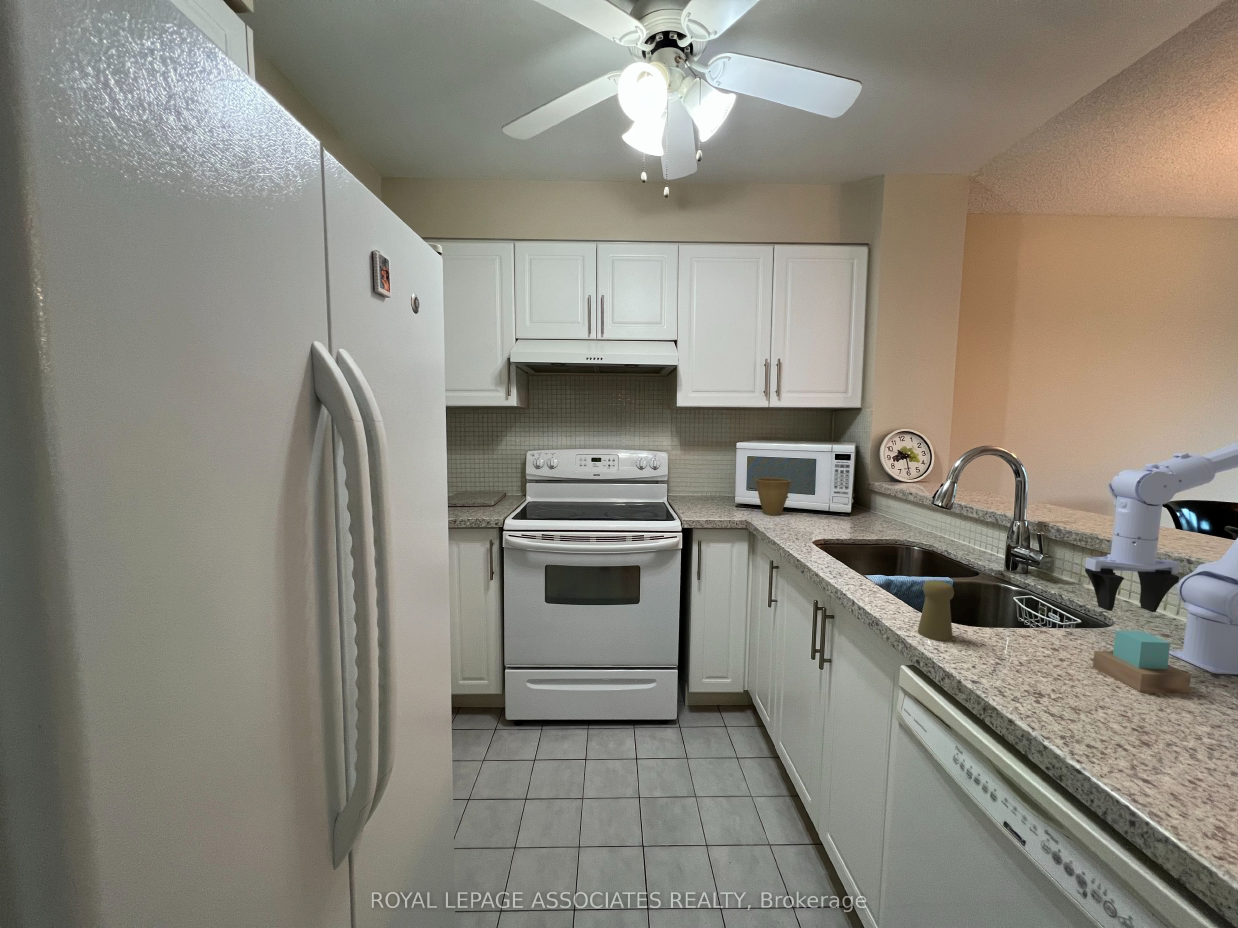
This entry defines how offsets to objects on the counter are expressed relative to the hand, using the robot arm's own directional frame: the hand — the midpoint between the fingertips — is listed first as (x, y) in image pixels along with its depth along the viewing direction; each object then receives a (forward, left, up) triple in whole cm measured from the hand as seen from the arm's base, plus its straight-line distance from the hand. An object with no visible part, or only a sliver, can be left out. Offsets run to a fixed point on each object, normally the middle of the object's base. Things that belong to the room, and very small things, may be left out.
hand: (1126, 609), depth 91 cm
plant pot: (+28, -136, -10) cm, 139 cm away
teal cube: (+4, +8, -6) cm, 11 cm away
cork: (+29, -8, -10) cm, 32 cm away
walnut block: (+4, +8, -10) cm, 13 cm away
